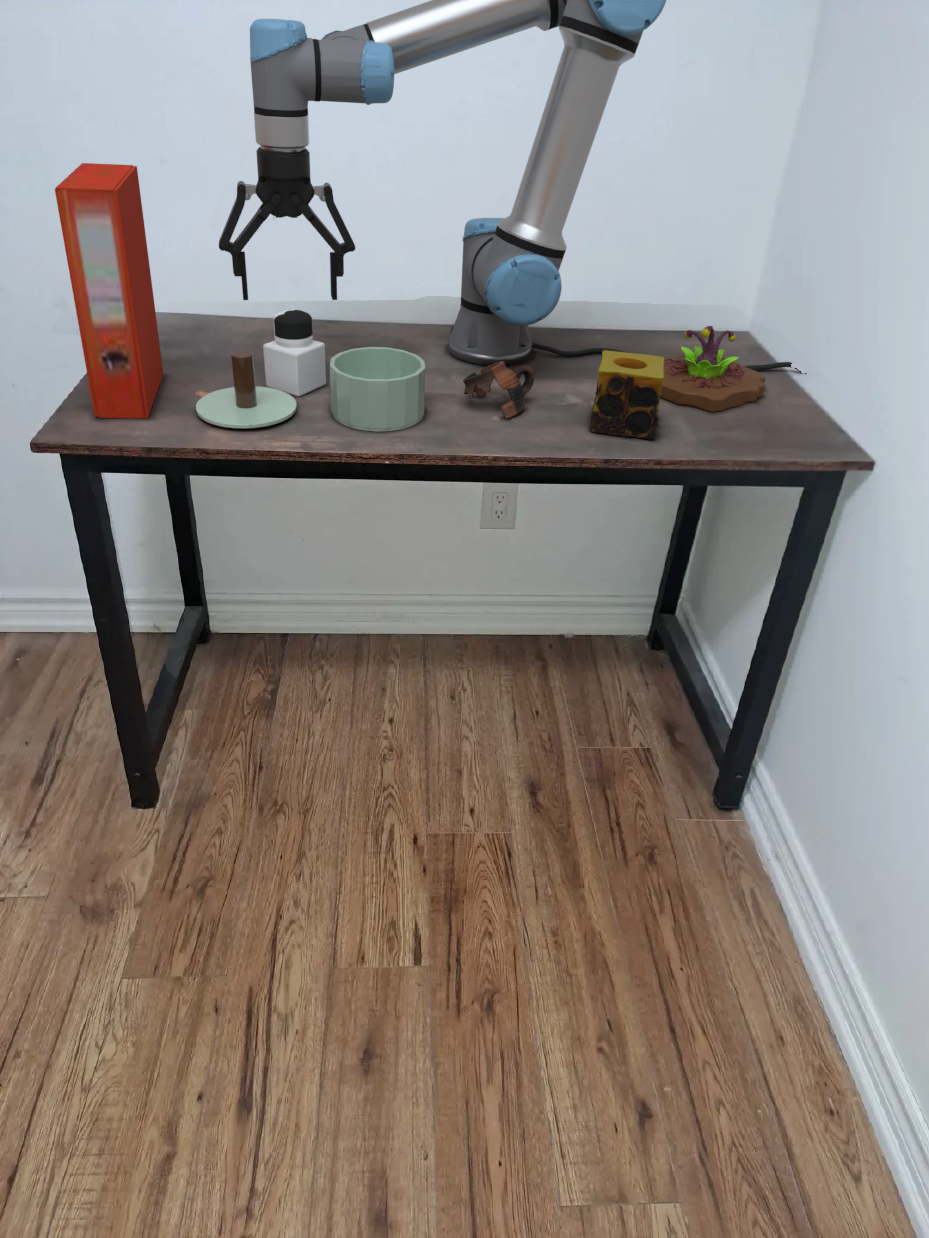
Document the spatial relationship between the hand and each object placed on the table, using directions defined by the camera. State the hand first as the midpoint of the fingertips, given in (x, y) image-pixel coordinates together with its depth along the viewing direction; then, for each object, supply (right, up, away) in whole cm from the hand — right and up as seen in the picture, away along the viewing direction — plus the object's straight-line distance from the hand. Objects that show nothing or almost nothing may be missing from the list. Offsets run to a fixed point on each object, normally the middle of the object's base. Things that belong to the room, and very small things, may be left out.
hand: (290, 297), depth 146 cm
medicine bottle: (-1, -12, +8) cm, 15 cm away
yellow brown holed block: (+52, -20, +2) cm, 56 cm away
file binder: (-25, -15, +2) cm, 29 cm away
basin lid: (-6, -18, -1) cm, 19 cm away
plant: (+68, -10, +17) cm, 71 cm away
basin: (+14, -18, +1) cm, 22 cm away
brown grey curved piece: (+33, -16, +6) cm, 37 cm away
